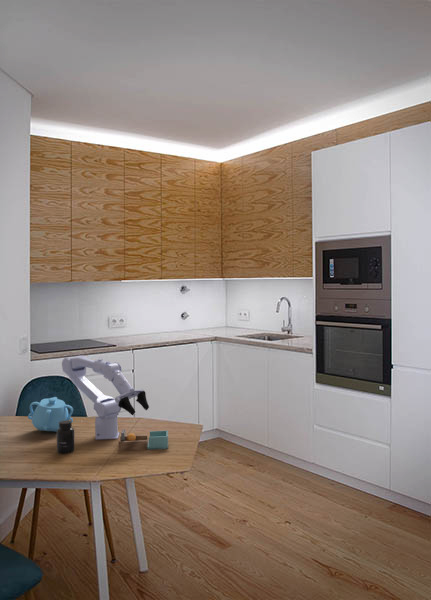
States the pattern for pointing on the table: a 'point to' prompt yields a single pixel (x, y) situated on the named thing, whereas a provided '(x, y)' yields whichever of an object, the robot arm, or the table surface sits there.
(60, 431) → the supplement bottle
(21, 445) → the table surface
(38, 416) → the decorative pot
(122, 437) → the plunger
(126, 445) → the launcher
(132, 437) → the ball
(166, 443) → the teal open box
